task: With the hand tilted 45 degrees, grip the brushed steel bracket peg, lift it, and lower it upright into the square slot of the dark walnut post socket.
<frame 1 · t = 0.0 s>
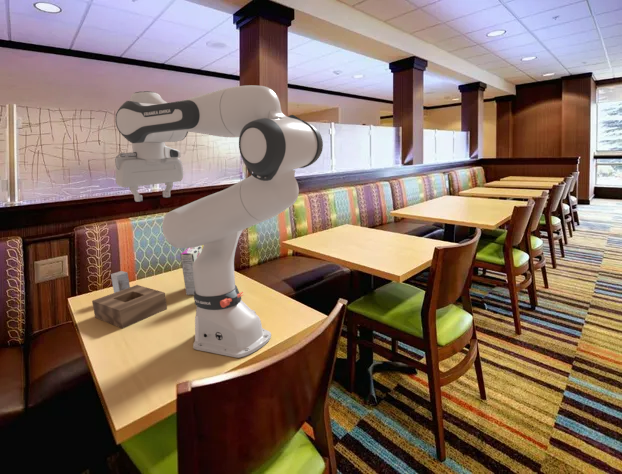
hand: (153, 199, 110), 39 cm above the table, tool pointing down, fingers open, 8 cm apart
post socket: (131, 313, 123), on the table
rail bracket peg: (123, 298, 136), on the table
candy bar box: (196, 290, 142), on the table
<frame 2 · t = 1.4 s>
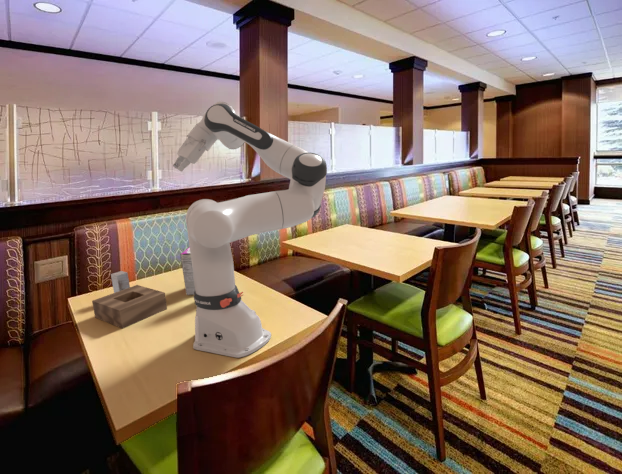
hand: (176, 168, 133), 46 cm above the table, tool tilted 45°, fingers open, 8 cm apart
nothing on the table moved.
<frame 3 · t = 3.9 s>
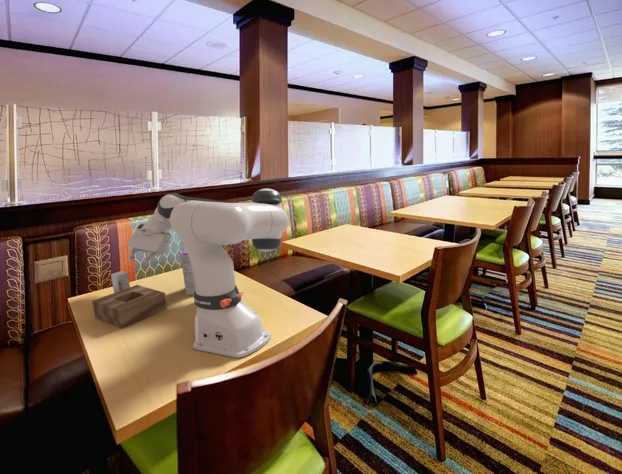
hand: (137, 261, 140), 12 cm above the table, tool tilted 45°, fingers open, 8 cm apart
nothing on the table moved.
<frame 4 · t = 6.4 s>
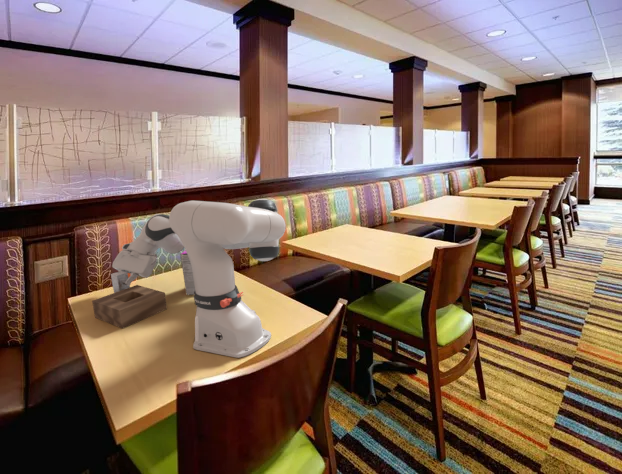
hand: (121, 283, 135), 6 cm above the table, tool tilted 45°, fingers closed on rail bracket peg, 4 cm apart
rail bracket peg: (123, 298, 136), on the table, touching gripper
candy bar box: (196, 290, 142), on the table, touching arm
everything else where it was.
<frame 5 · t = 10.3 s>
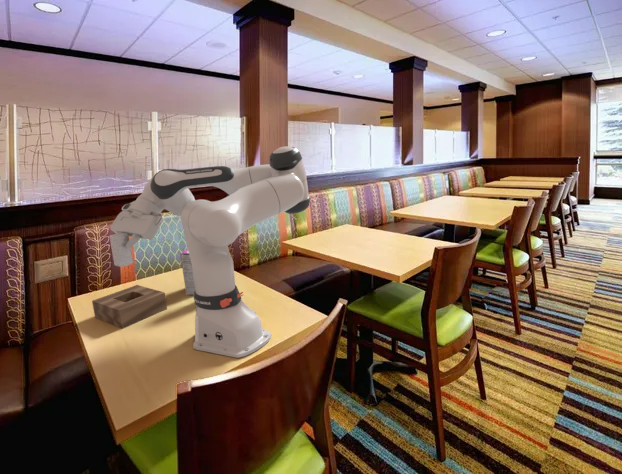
hand: (121, 246, 118), 23 cm above the table, tool tilted 45°, fingers closed on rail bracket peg, 4 cm apart
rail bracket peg: (123, 264, 119), point 17 cm above the table, touching gripper
candy bar box: (196, 290, 142), on the table
everything else where it was.
when the fingers open (9 cm above the table, at t = 14.3 s): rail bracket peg drops 3 cm, resting in post socket.
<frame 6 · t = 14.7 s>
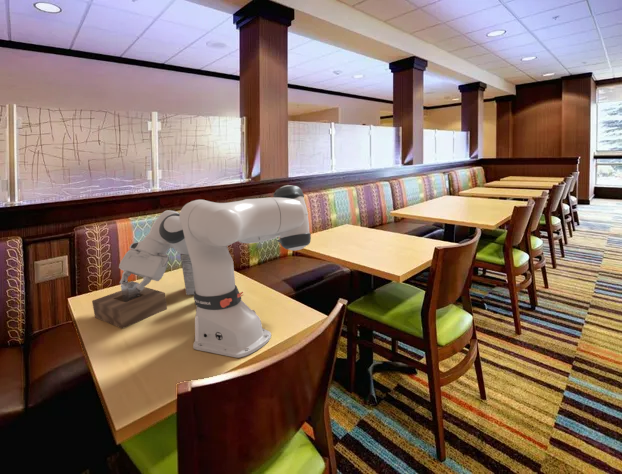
hand: (130, 286, 122), 9 cm above the table, tool tilted 45°, fingers open, 8 cm apart
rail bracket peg: (134, 311, 125), resting in post socket
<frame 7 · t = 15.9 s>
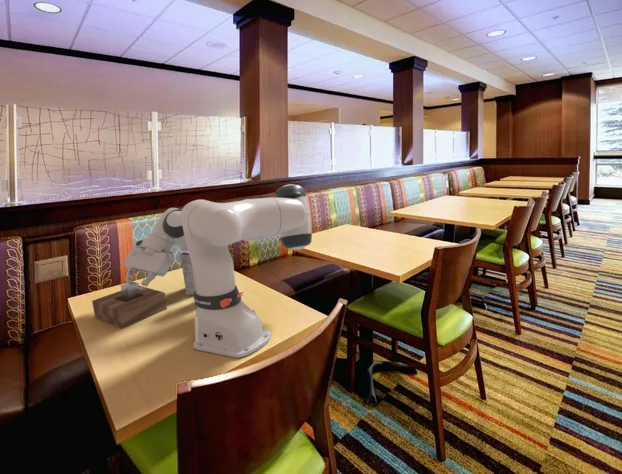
hand: (135, 283, 124), 10 cm above the table, tool tilted 45°, fingers open, 8 cm apart
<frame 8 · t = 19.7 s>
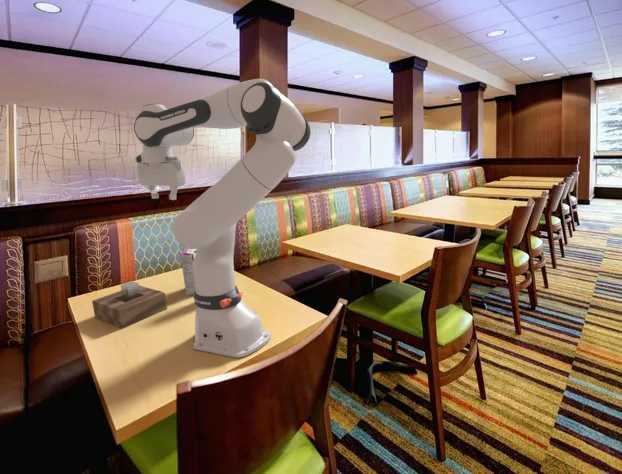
hand: (164, 199, 123), 37 cm above the table, tool pointing down, fingers open, 8 cm apart
nothing on the table moved.
at the end: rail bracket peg 1.3 cm off-centre on the post socket, point 0.0 cm above the post socket's base; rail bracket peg tilted 0°; the gripper is holding nothing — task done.
